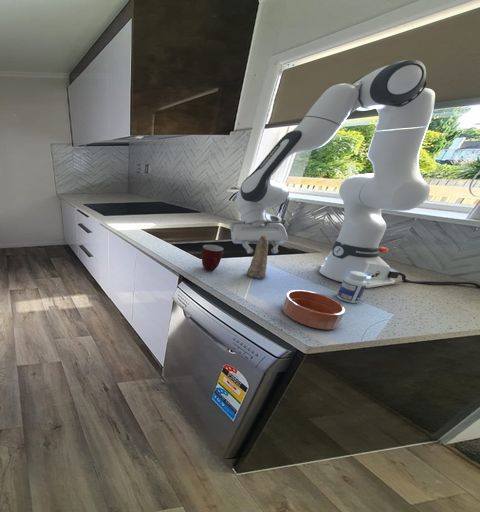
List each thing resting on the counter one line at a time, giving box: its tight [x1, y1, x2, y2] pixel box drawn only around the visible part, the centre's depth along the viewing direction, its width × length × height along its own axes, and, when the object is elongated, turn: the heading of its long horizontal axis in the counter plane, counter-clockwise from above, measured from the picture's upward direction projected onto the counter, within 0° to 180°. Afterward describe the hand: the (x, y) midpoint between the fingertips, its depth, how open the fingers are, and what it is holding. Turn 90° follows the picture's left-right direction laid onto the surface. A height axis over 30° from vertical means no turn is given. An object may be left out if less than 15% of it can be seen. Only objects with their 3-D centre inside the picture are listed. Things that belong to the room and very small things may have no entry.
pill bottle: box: [336, 271, 367, 304], centre depth 81 cm, size 5×5×10 cm
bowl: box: [281, 289, 346, 330], centre depth 73 cm, size 13×13×6 cm
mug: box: [201, 244, 225, 272], centre depth 102 cm, size 10×8×10 cm
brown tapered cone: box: [246, 235, 269, 280], centre depth 95 cm, size 6×18×6 cm
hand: (262, 252), depth 94 cm, fingers open, 8 cm apart
